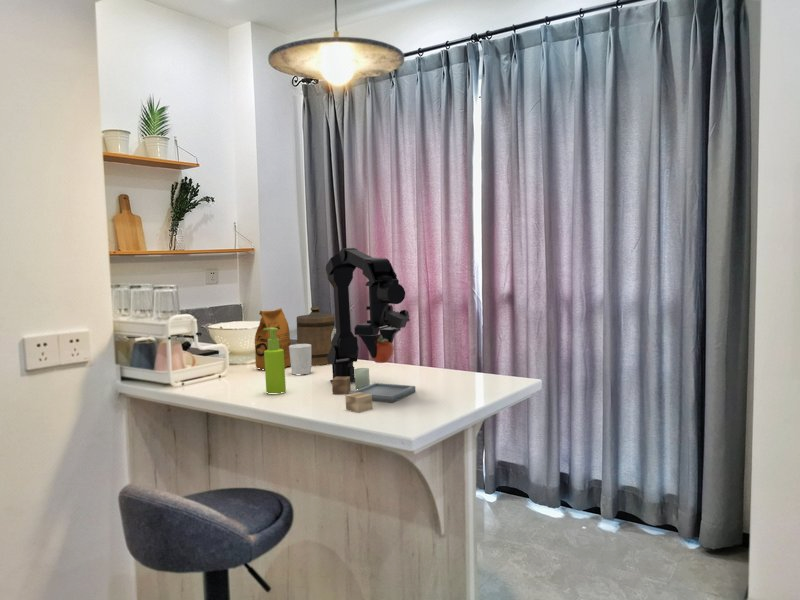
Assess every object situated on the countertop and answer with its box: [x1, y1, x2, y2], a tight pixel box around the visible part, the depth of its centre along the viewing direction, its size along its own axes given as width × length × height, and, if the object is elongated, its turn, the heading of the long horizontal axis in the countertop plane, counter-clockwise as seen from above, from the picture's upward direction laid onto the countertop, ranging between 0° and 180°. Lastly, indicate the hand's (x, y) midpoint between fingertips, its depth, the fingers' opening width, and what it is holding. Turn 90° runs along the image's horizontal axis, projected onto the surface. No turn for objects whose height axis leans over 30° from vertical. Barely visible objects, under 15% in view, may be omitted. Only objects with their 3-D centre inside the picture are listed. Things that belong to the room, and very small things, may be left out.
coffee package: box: [254, 308, 292, 371], centre depth 236 cm, size 10×12×22 cm
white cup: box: [289, 343, 312, 375], centre depth 223 cm, size 8×8×10 cm
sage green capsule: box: [354, 367, 371, 390], centre depth 196 cm, size 4×4×6 cm
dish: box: [349, 382, 417, 404], centre depth 185 cm, size 14×14×2 cm
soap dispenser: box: [263, 327, 287, 393], centre depth 194 cm, size 6×7×20 cm
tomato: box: [368, 335, 395, 364], centre depth 184 cm, size 7×7×8 cm
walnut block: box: [331, 377, 352, 395], centre depth 191 cm, size 4×4×4 cm
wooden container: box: [296, 305, 336, 367], centre depth 244 cm, size 15×15×22 cm
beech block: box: [344, 392, 373, 413], centre depth 170 cm, size 5×5×4 cm
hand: (381, 355), depth 184 cm, fingers closed on tomato, 7 cm apart
